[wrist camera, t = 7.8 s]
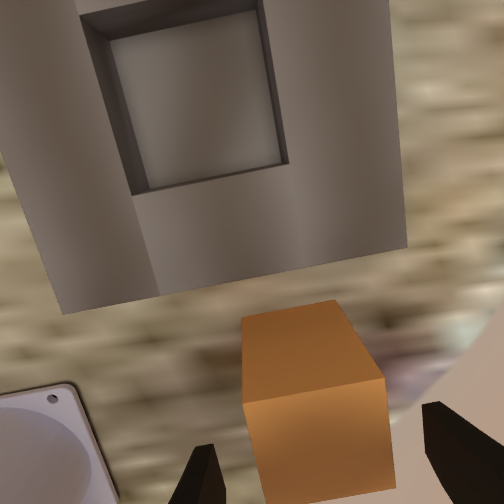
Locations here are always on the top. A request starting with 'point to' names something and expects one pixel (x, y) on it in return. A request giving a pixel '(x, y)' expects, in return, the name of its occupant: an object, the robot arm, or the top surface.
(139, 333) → the top surface
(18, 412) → the robot arm
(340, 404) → the orange block
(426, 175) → the top surface
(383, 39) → the pocket holder
